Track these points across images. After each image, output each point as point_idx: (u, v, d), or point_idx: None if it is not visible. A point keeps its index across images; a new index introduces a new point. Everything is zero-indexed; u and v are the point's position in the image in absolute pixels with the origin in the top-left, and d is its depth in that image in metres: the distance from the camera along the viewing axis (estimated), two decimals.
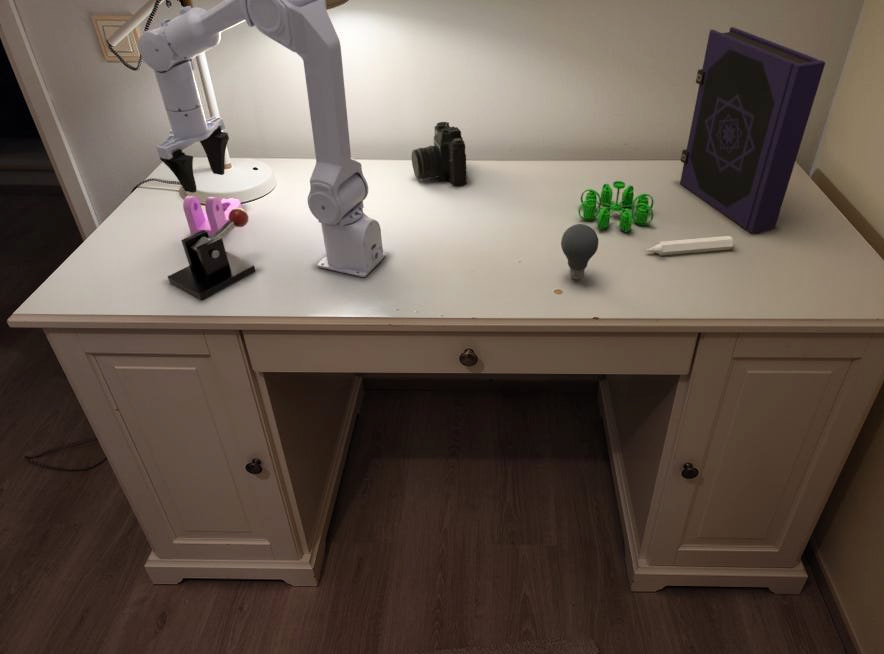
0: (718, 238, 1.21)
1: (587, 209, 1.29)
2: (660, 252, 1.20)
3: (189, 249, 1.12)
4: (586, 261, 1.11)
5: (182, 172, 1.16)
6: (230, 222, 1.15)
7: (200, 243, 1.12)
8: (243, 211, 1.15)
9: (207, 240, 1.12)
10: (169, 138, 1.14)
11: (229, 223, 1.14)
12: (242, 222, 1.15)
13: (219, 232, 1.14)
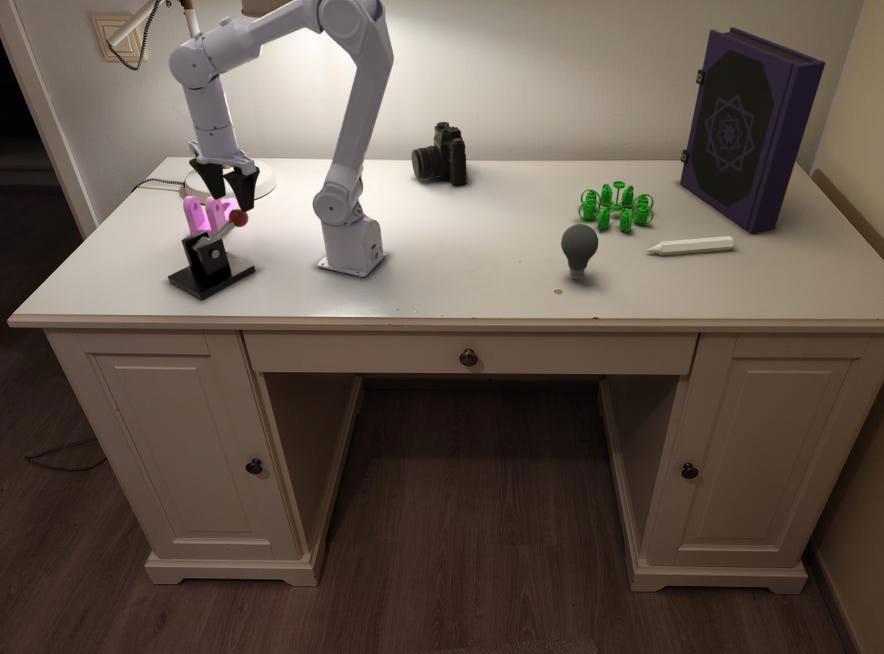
0: (718, 238, 1.21)
1: (587, 209, 1.29)
2: (660, 252, 1.20)
3: (189, 249, 1.12)
4: (586, 261, 1.11)
5: (244, 190, 1.10)
6: (230, 222, 1.15)
7: (200, 243, 1.12)
8: None
9: (207, 240, 1.12)
10: None
11: (229, 223, 1.14)
12: (242, 222, 1.15)
13: (219, 232, 1.14)
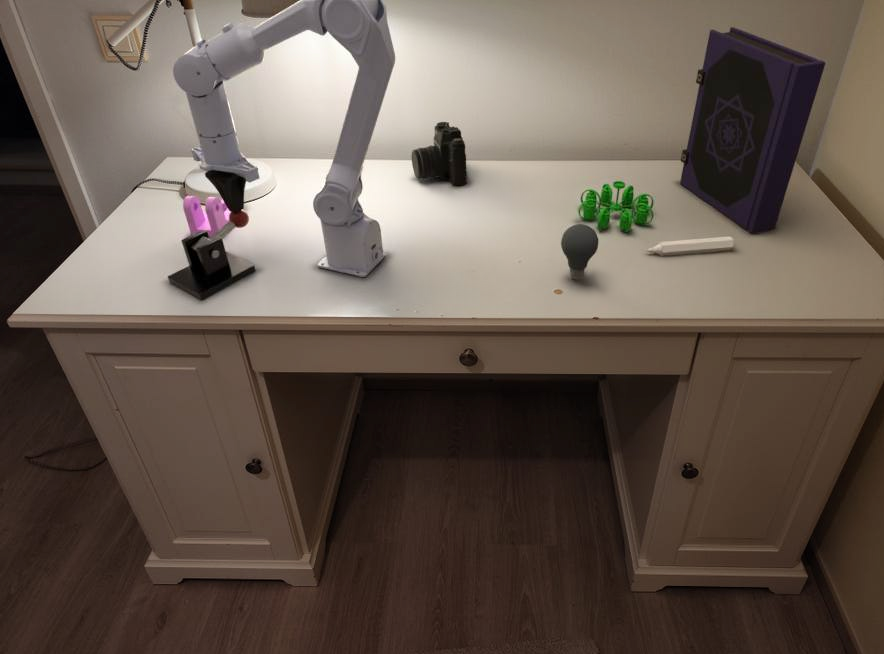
0: (718, 239, 1.21)
1: (587, 209, 1.29)
2: (660, 252, 1.20)
3: (189, 249, 1.12)
4: (586, 261, 1.11)
5: (234, 191, 1.12)
6: (230, 222, 1.15)
7: (200, 243, 1.12)
8: (243, 212, 1.15)
9: (207, 240, 1.12)
10: None
11: (229, 223, 1.15)
12: (242, 222, 1.15)
13: (219, 232, 1.14)
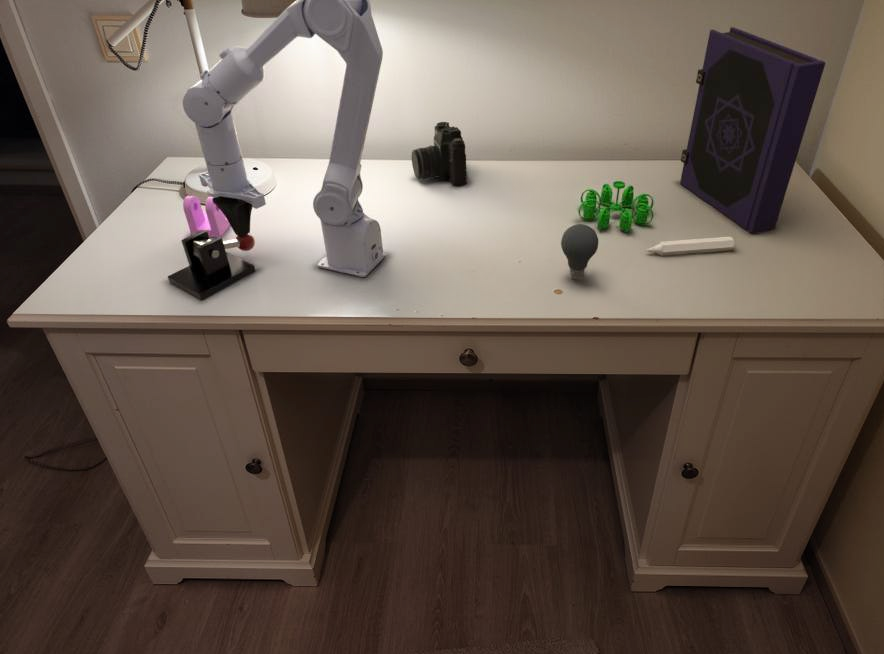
0: (719, 239, 1.21)
1: (587, 209, 1.29)
2: (660, 252, 1.20)
3: (189, 249, 1.12)
4: (586, 261, 1.11)
5: (240, 216, 1.15)
6: (237, 240, 1.17)
7: (204, 241, 1.12)
8: (253, 237, 1.19)
9: None
10: None
11: (236, 240, 1.17)
12: (248, 244, 1.18)
13: (224, 242, 1.15)
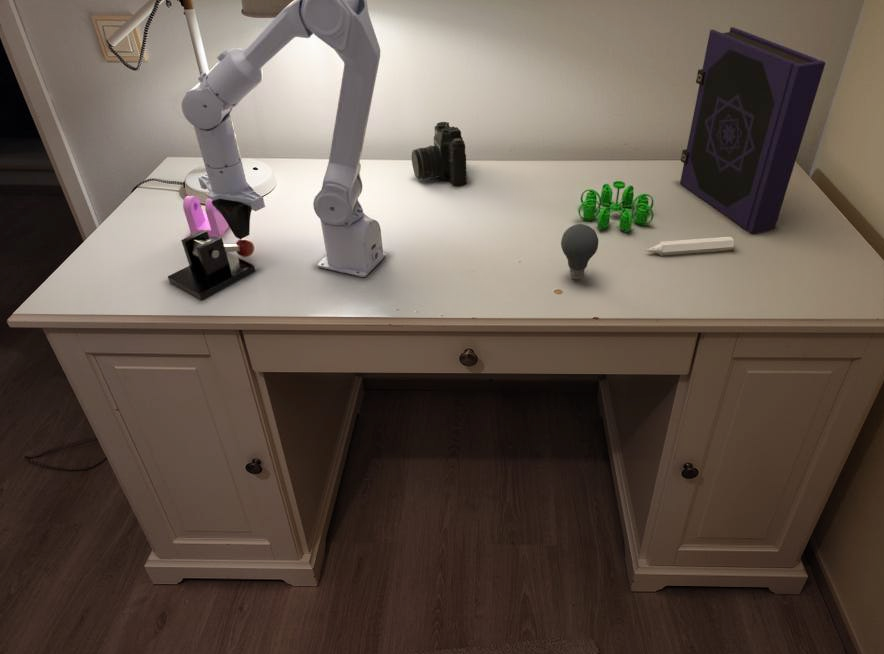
0: (719, 239, 1.21)
1: (587, 209, 1.29)
2: (660, 252, 1.20)
3: (189, 249, 1.12)
4: (586, 261, 1.11)
5: (240, 218, 1.15)
6: (237, 245, 1.17)
7: (204, 241, 1.12)
8: (253, 244, 1.19)
9: None
10: None
11: (236, 245, 1.17)
12: (248, 250, 1.18)
13: (224, 245, 1.15)
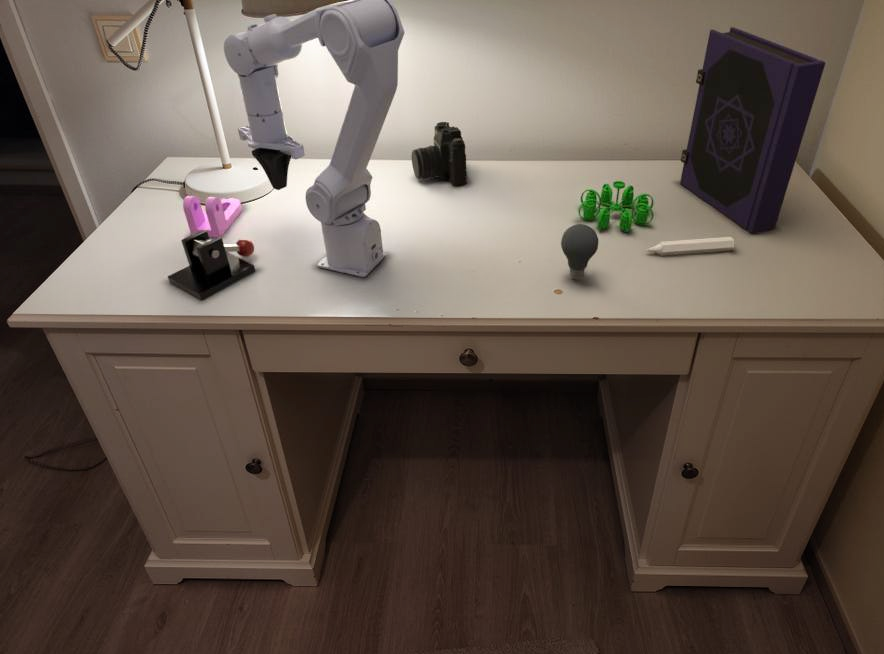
0: (719, 239, 1.21)
1: (587, 209, 1.29)
2: (660, 252, 1.20)
3: (189, 249, 1.12)
4: (586, 261, 1.11)
5: (278, 169, 1.17)
6: (237, 245, 1.17)
7: (204, 241, 1.12)
8: (253, 244, 1.19)
9: None
10: None
11: (236, 245, 1.17)
12: (248, 250, 1.18)
13: (224, 245, 1.15)
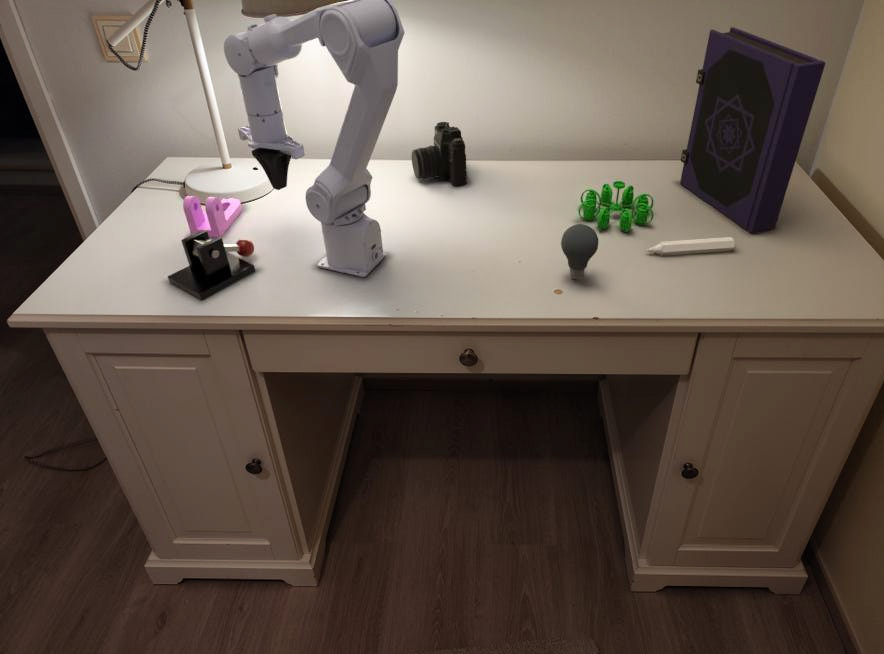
0: (719, 239, 1.21)
1: (587, 209, 1.29)
2: (660, 252, 1.20)
3: (189, 249, 1.12)
4: (586, 261, 1.11)
5: (278, 169, 1.17)
6: (237, 245, 1.17)
7: (204, 241, 1.12)
8: (253, 244, 1.19)
9: None
10: None
11: (236, 245, 1.17)
12: (248, 250, 1.18)
13: (224, 245, 1.15)
